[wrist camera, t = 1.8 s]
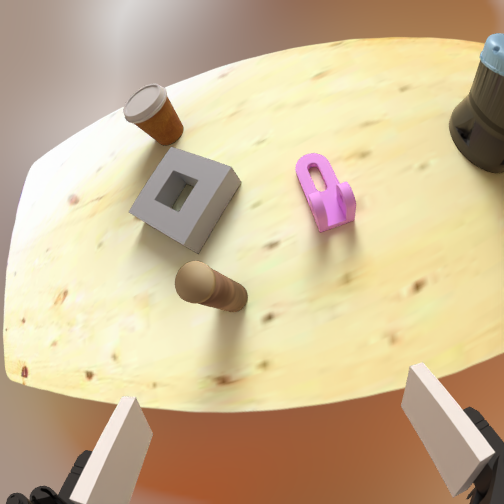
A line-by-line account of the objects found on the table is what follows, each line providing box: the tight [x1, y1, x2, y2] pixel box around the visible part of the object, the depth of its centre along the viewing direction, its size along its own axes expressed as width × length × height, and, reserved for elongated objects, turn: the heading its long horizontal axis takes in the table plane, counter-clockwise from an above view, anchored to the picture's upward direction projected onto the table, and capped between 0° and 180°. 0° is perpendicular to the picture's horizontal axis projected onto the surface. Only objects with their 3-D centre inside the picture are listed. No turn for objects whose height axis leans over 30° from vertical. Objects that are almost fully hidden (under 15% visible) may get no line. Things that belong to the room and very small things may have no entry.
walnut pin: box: [175, 261, 248, 312], centre depth 37 cm, size 5×5×13 cm
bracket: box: [296, 153, 356, 232], centre depth 41 cm, size 13×6×7 cm, turn 15°
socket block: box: [129, 147, 241, 254], centre depth 48 cm, size 14×14×5 cm
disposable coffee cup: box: [123, 84, 183, 145], centre depth 52 cm, size 10×10×12 cm
